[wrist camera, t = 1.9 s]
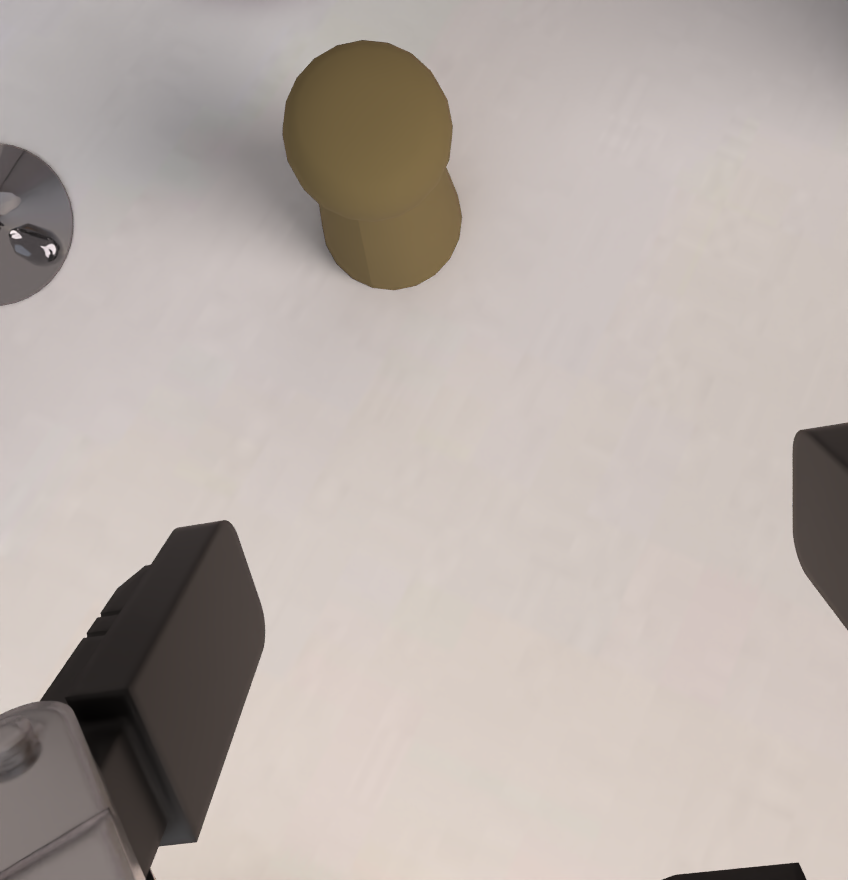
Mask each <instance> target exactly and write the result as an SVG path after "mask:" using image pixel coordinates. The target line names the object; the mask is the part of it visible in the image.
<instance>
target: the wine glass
mask: <svg viewBox="0 0 848 880" xmlns="http://www.w3.org/2000/svg"><path fill="white" fill-rule="evenodd" d="M72 234H73V214H72V208H71V203H70V200H69V197H68V194H67V192H66V189H65V187H64V185H63V184H62V182H61V180H60V179H59V177H58V176H57V174H56V173H55V172H54V171H53V170H52V169H51V167H50V166H49V165H48V164H46V163H45V162H44V161H43V160H41V159H40V158H39V157H38V156H36V155H34V154H32V153H30V152H29V151H27V150H24V149H22V148H19V147H16V146H13V145H6V144H0V306H2V305H7V304H12V303H16V302H19V301H21V300H24V299H26V298H29V297H30V296H32V295H34V294H35V293H37V292H38V291H40V290H41V289H42V288H43V287H45V286H46V285H47V284H48V283H49V282H50V281H51V280H52V279H53V278H54V276H55V275H56V274H57V273H58V271H59V270H60V268H61V266H62V265H63V263H64V261H65V259H66V257H67V254H68V251H69V248H70V245H71V240H72Z"/></svg>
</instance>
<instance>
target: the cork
mask: <svg viewBox="0 0 848 880" xmlns="http://www.w3.org/2000/svg"><path fill="white" fill-rule="evenodd" d="M452 129H453V126H452V121H451V116H450V110H449V105H448V100H447V98H446V97H445V95H444V93H443V91H442V89H441V88H440V86H439V84H438V82H437V80H436V79H435V77H434V75H433V74H432V72H431V71H430V70H429V69H428V68H427V67H426V66H425V65H424V64H423V63H421V62H420V61H419V60H418V59H417V58H416V57H415V56H414V55H413V54H412V53H410V52H407V51H405V50H403V49H401V48H398V47H396V46H394V45H392V44H390V43H385V42H376V41H366V40H360V41H356V42H351V43H346V44H342V45H337V46H335V47H334V48H332V49H330V50H328V51H327V52H325V53H323V54H321V55H320V56H318V57H316V58H314V59H313V61H312V62H311V63H310V64H309V65H308V66H307V67H306V68H305V69H304V70H303V72H302V73H301V74H300V75H299V76H298V77H297V78H296V81H295V83H294V85H293V87H292V89H291V92H290V94H289V96H288V98H287V100H286V105H285V114H284V122H283V140H284V145H285V150H286V155H287V160H288V163H289V164H290V166H291V168H292V170H293V172H294V173H295V175H296V177H297V179H298V181H299V182H300V184H301V186H302V187H303V189H304V190H305V191H306V192H307V193H308V194H309V195H310V196H311V197H312V198H313V199H314V200H316V201H317V202H318V203H319V207H320V214H321V221H322V227H323V232H324V237H325V242H326V246H327V247H328V249H329V251H330V253H331V255H332V256H333V258H334V260H335V262H336V264H337V265H339V266H340V267H341V268H342V269H343V270H344V271H345V272H346V273H347V274H348V275H349V276H350V277H351V278H353V279H355V280H357V281H359V282H361V283H363V284H366V285H368V286H370V287H372V288H380V289H389V290H397V289H402V288H407V287H412V286H416V285H418V284H420V283H421V282H423V281H425V280H427V279H429V278H430V277H432V276H434V275H435V274H436V273H437V272H438V271H439V270H440V269H441V268H442V267H443V266H444V265H445V263H446V262H447V261H448V260H449V259H450V257H451V255H452V253H453V251H454V249H455V247H456V244H457V242H458V240H459V236H460V228H461V220H462V215H461V210H460V205H459V199H458V195H457V192H456V190H455V187H454V185H453V183H452V180H451V178H450V175H449V173H448V170H447V168H446V166H447V164H448V161H449V157H450V149H451V140H452Z"/></svg>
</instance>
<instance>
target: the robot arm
mask: <svg viewBox="0 0 848 880" xmlns="http://www.w3.org/2000/svg"><path fill="white" fill-rule="evenodd" d="M793 538H794V544H795V549H796V552H797V556H798V559H799V562H800V564H801V566H802V569H803V570H804V572H805V574H806V575H807V577H808V578H809V580H810V581H811V582H812V584H813V585H814V586H815V588H816V589H817V590H818V592H819V593H820V594H821V596H822V597H823V598H824V599H825V601H826V602H827V603H828V605H829V606H830V607H831V609H832V610H833V611H834V613H835V614H836V615H837V617H838V618H839V619H840V621H841V622H842V623H843V625H844V626H845V627H846V629H847V630H848V423H842V424H836V425H830V426H823V427H817V428H811V429H804V430H800V431H798V432H797V434H796V436H795V438H794V442H793ZM264 642H265V621H264V614H263V610H262V606H261V603H260V600H259V597H258V594H257V591H256V588H255V585H254V582H253V579H252V576H251V573H250V570H249V567H248V564H247V561H246V558H245V555H244V552H243V550H242V547H241V544H240V541H239V538H238V535H237V532H236V530H235V528H234V527H233V525H232V524H231V523H230V522H229V521H226V520H223V521H217V522H211V523H204V524H198V525H192V526H185V527H179V528H176V529H175V530H174V531H173V532H172V533H171V535H170V536H169V538H168V539H167V541H166V542H165V544H164V545H163V547H162V548H161V550H160V552H159V553H158V555H157V556H156V558H155V559H154V561H153V562H152V564H151V565H147V566H144V567H143V568H142V569H141V570H139V571H138V572H137V573H136V574H134V575H133V576H132V577H131V578H130V579H128V580H127V581H126V582H125V583H124V584H122V585H121V586H120V587H119V588H117V590H116V591H115V593H114V594H113V596H112V597H111V598H110V600H109V601H108V603H107V604H106V606H105V607H104V609H103V610H102V612H101V617H98V618H97V619H96V620H95V622H94V623H93V625H92V626H91V628H90V629H89V630H88V632H87V638H83V639H82V641H81V642H80V643H79V645H78V646H77V648H76V649H75V651H74V652H73V654H72V655H71V657H70V658H69V659H68V661H67V662H66V664H65V665H64V667H63V668H62V670H61V671H60V672H59V674H58V675H57V677H56V678H55V680H54V681H53V683H52V684H51V686H50V687H49V688H48V690H47V691H46V693H45V694H44V696H43V697H42V699H41V700H40V702H34V703H30V704H26V705H22V706H20V707H17V708H14V709H11V710H9V711H7V712H5V713H3V714H1V715H0V880H156V878H155V876H154V874H153V872H152V870H151V868H150V867H151V865H152V862H153V859H154V857H155V854H156V852H157V849H158V847H159V846H166V845H175V844H184V843H193V842H197V840H198V837H199V834H200V831H201V828H202V825H203V822H204V820H205V817H206V814H207V811H208V808H209V805H210V802H211V799H212V796H213V793H214V791H215V788H216V785H217V782H218V779H219V776H220V773H221V770H222V767H223V764H224V761H225V759H226V756H227V753H228V750H229V747H230V744H231V741H232V738H233V735H234V732H235V730H236V727H237V724H238V721H239V718H240V715H241V712H242V709H243V706H244V703H245V701H246V698H247V695H248V692H249V689H250V686H251V683H252V680H253V677H254V674H255V672H256V669H257V666H258V663H259V660H260V657H261V654H262V651H263V648H264ZM663 880H806V878H805V875H804V873H803V871H802V869H801V867H800V864H799V863H789V864H779V865H769V866H759V867H749V868H739V869H729V870H719V871H709V872H699V873H689V874H679V875H674V876H671V877H668V878H666V879H663Z"/></svg>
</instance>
